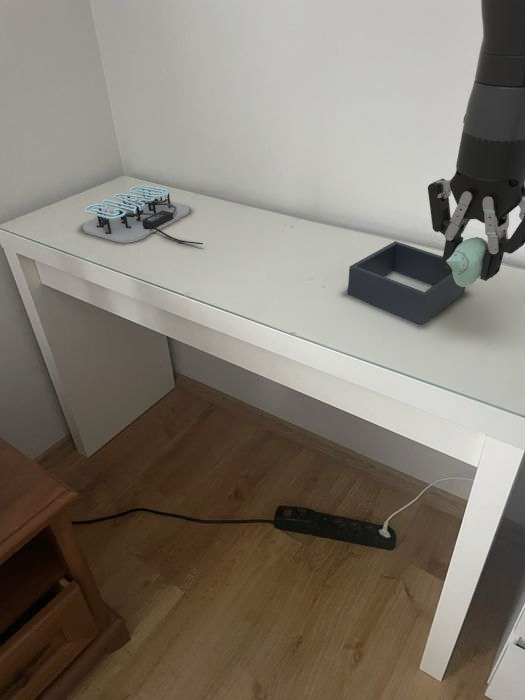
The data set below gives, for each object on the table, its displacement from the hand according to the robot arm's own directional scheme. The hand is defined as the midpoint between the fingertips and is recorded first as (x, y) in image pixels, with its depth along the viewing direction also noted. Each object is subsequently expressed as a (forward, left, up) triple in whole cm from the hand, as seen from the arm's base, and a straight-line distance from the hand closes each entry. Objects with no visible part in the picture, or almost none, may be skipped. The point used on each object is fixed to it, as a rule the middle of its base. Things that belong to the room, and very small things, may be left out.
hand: (468, 271), depth 66 cm
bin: (+13, -8, -11) cm, 19 cm away
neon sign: (+65, +2, -12) cm, 66 cm away
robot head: (0, 0, -2) cm, 2 cm away
